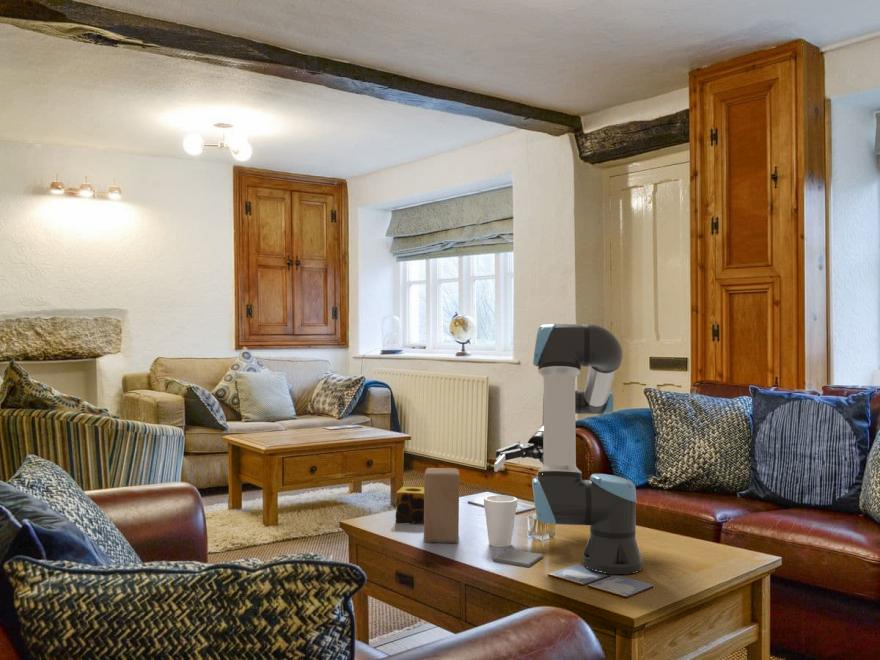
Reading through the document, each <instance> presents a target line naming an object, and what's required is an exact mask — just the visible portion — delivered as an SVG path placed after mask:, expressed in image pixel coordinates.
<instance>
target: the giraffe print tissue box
mask: <svg viewBox="0 0 880 660" xmlns="http://www.w3.org/2000/svg"><path fill="white" fill-rule="evenodd" d="M395 494H396V496H395V497H396V502H395V505H396V509H395V510H396V511H395V523H396V524H399V523H409V524H408V525H420V524H424V486H402V487H401V488H400V489H398V490H397V491H396V493H395Z"/></svg>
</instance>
